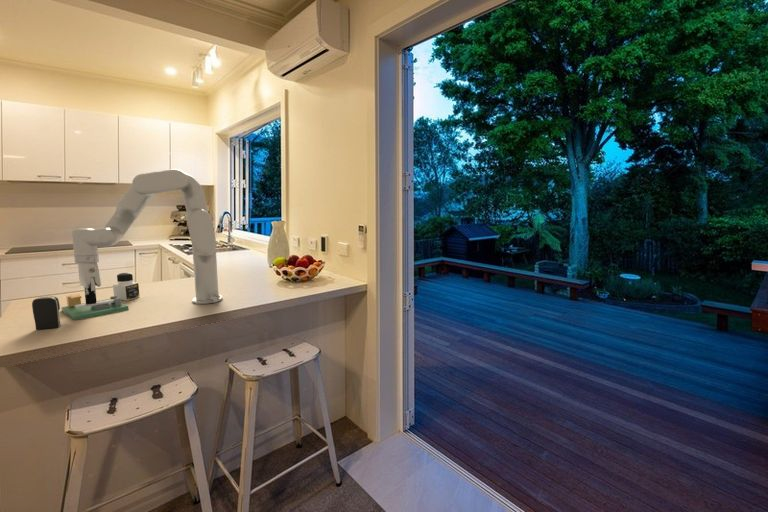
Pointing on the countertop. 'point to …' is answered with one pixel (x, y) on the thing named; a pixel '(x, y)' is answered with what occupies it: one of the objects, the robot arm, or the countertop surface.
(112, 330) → the countertop surface
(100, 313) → the board
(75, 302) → the tan wooden block
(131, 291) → the medicine bottle
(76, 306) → the grey flat bar
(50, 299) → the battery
